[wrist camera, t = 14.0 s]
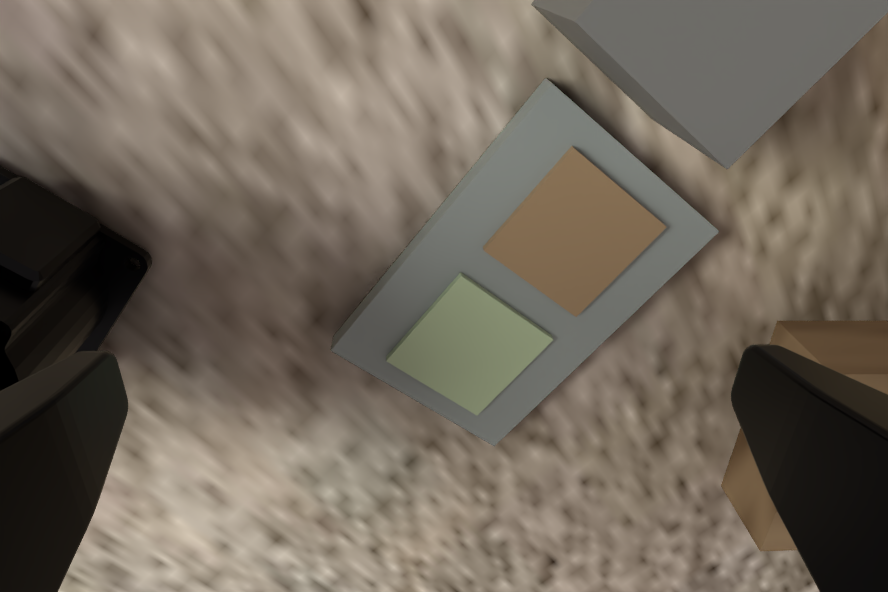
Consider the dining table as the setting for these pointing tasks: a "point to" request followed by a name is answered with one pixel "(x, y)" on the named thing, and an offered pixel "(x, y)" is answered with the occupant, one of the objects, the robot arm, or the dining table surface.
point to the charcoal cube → (714, 58)
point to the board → (522, 270)
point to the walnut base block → (835, 346)
